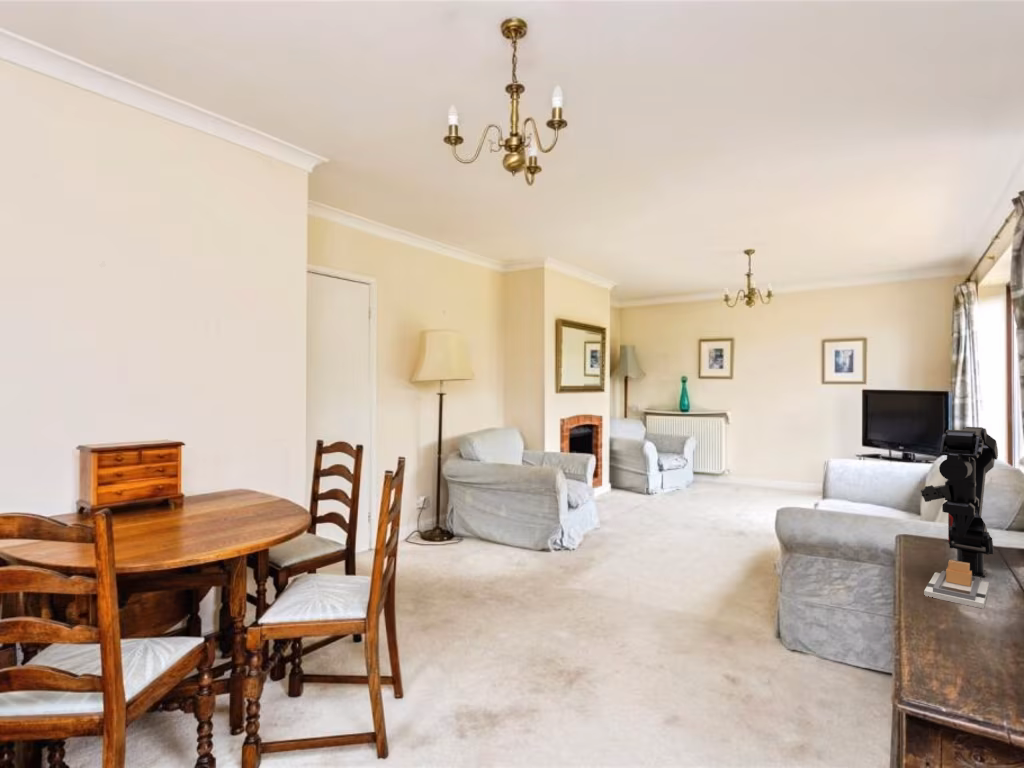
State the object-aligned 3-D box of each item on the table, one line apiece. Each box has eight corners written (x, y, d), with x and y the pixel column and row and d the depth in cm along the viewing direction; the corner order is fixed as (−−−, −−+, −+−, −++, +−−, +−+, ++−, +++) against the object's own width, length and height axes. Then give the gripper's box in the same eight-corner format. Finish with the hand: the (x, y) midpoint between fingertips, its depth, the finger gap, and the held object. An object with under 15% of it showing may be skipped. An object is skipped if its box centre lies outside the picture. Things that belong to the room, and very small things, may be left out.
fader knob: (947, 577, 142) (948, 558, 142) (971, 582, 139) (971, 562, 139) (946, 581, 139) (946, 561, 139) (970, 586, 136) (970, 566, 136)
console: (935, 576, 147) (935, 568, 147) (988, 587, 139) (988, 578, 139) (924, 595, 133) (924, 586, 133) (983, 608, 125) (983, 599, 125)
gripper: (928, 470, 155) (927, 525, 155) (918, 477, 142) (917, 537, 142) (979, 475, 148) (979, 532, 147) (973, 482, 134) (973, 545, 134)
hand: (961, 536), depth 143 cm, fingers closed
